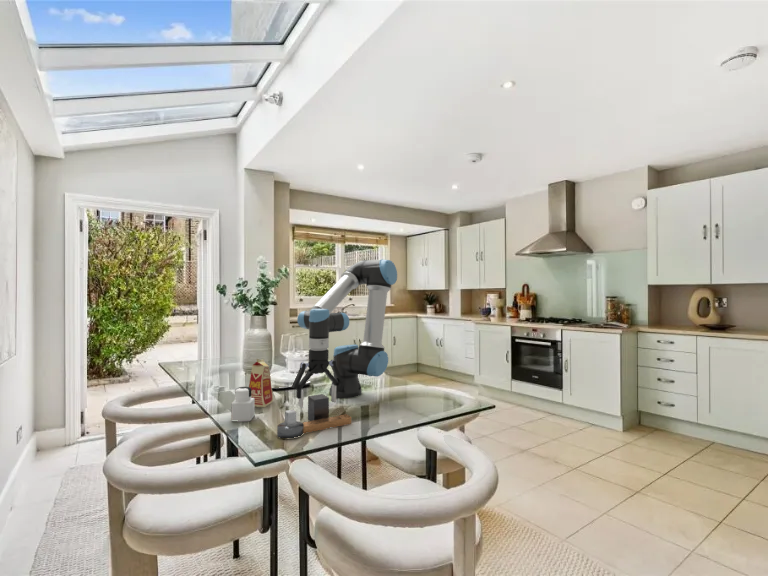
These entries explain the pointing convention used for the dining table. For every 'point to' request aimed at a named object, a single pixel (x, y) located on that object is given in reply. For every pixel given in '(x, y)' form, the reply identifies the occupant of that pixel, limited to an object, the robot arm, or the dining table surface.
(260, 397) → the milk carton
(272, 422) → the dining table surface
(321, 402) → the dark grey block
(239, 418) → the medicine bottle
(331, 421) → the hammer
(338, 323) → the robot arm
